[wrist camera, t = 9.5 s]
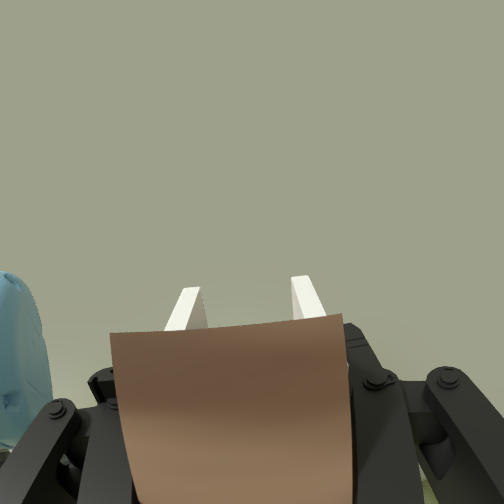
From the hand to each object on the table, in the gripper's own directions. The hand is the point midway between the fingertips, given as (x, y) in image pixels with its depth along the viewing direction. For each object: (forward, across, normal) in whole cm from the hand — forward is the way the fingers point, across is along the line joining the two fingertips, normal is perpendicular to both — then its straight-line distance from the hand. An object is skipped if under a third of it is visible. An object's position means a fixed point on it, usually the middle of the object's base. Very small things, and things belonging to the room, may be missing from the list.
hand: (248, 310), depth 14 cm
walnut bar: (0, 0, -6) cm, 6 cm away
